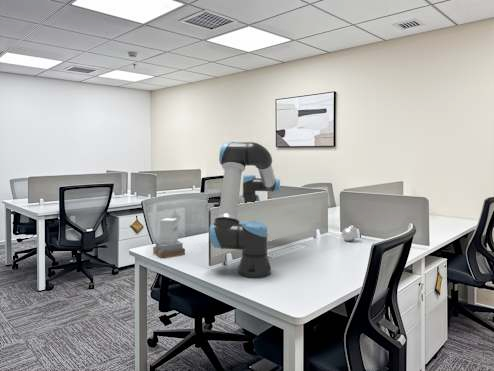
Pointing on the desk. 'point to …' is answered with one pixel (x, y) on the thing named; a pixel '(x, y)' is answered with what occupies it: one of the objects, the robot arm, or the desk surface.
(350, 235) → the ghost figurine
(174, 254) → the walnut base block
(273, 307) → the desk surface
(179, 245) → the charcoal top block
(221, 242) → the robot arm
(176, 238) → the supplement box
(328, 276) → the desk surface
